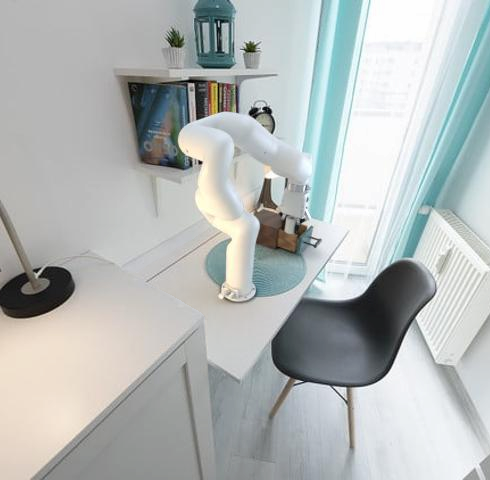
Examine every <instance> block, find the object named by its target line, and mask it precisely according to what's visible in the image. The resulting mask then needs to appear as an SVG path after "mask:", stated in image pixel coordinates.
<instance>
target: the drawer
mask: <svg viewBox="0 0 490 480" xmlns="http://www.w3.org/2000/svg"><path fill="white" fill-rule="evenodd" d="M284 230H285V229H284ZM284 230H283V229H282V227H281V228H280V229H279V230H278V237H277V245H276V246H278V248H282V249H284V250H287V251H290V252H293V253H295V252H296V256H300V255H301V254H302V253H303V252H304V251H305V249H306V248H307V247H308V246H311V247H313V249H317V248H318V246H320V244H321V243H322V241H323V239H322V238H316V237H314V236H313V232H314V225H310V226H309V227H308V224H304V223H301V227H300V231H298V232H297V233H296V234H295V233H294V234H288V233H286V232H285V231H284ZM312 240H315V241H316V242H315V243H311V242H312Z"/></svg>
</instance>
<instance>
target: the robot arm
mask: <svg viewBox="0 0 490 480" xmlns="http://www.w3.org/2000/svg"><path fill="white" fill-rule="evenodd" d="M177 144H178V147H179V149H180V151H181V152H182V153H183V154H184V155H185V156H187V157H189V158H192V159H195V160H197V161H200V162H202V164H201V167H200V171H199V173H198V177H197V188H196V191H195V195H194V201H195V205H196V206H197V208H198V210H199V212H201V214H203V216H204V217H205V219H206V220H207V221H208V222H209V223H210V224H211V226H213V228H215V229H217V231H220V232H221V233H224V234H226V235H227V236H229V237H230V238H231V240H230V242H229V243H228V244H227V246H226V250H225V251H226V253H225V255H226V256H225V258H226V259H225V281H224V282H223V283H222V284H221V286H220V287H221V290H220V291H221V292H220V293H219V294H218V298H219V299H220V300H223V299H224V298H226V299H227V300H230V301H233V302H239V303H240V302H241V303H242V302H246V301H249V300H251V299H252V298H253V297H255V296H256V293H257V291H256V290H257V288H256V285H255V284H254V282H253V276H254V263H255V253H256V252H255V251H256V244H257V243H256V239H257V236H258V233H259V229H260V223H259V221H258V219H257V218H256V217H255V216H254V215H255V214H253V213H251V212H249V211H247V210H245V209H244V203H243V200H242V197H241V196H240V194H239V193H238V191H237V189H236V187H235V186H234V184H233V182H232V181H231V179H230V176H229V172H230V167H231V164H232V162H233V159H234V155H235V150H236V149H235V147H236V148H237V149H240V150H241V151H242V152H243V153H245V154H247V155H248V156H250V157H251V158H253V159H254V160H255V161H257V162H259V163H260V164H262V165H264V166H268V167H270V170H271V172H272V173H273V174H274V175H277V176H279V177H282V178H284V179H285V178H288V182H287V187H286V188H285V187H284V188H285V190H284V189H283V194H282V197H281V201H280V205H278V206H277V207H276V208H275V211H276V213H279V215H280V216H281V219H282V229H283V230H284V229H285V223H286V217H287V216H288V215H291V216H294V217H296V218H297V224H296V225H295V230H294V233H295V234H296V233H297V232H298V231H300V227H301V224H304V223H305V222H308V221H310V220H311V219H312V217H311V215H310V212H309V206H310V191H311V190H312V186H310V185H309V182H310V178H311V176H312V174H313V155H312V154H311V153H309V152H306V151H300V150H298V149H296V148H295V147H293V146H291V145H289V144H288V143H287V142H285V141H283V140H281V139H280V138H278V137H276V136H275V135H274V134H272V133H271V132H270V131H268V129H267V128H266V127H264V126H263V125H262V124H261V123H260V122H259V121H258V120H256V119H255V118H254V117H252V116H250V115H248V114H244V113H239V112H232V111H221V112H217V113H214V114H211V115H209V116H206V117H203V118H200V119H197V120H194V121H192V122H189V123H187V124H186V125H184V126H183V127H182V128H181V130H180V131H179V132H178V136H177Z"/></svg>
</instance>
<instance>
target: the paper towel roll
mask: <svg viewBox="0 0 490 480" xmlns="http://www.w3.org/2000/svg"><path fill="white" fill-rule="evenodd" d="M296 224H297V218H296V217H294V216H291V215H290V216H287V217H286V223H285V230H284V231H285V232H286V233H288V234H294V230H295V225H296Z"/></svg>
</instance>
